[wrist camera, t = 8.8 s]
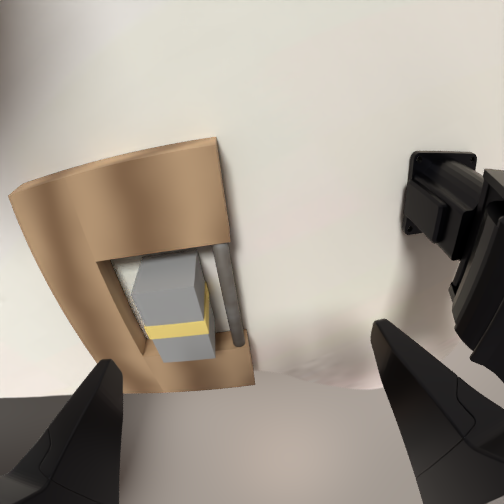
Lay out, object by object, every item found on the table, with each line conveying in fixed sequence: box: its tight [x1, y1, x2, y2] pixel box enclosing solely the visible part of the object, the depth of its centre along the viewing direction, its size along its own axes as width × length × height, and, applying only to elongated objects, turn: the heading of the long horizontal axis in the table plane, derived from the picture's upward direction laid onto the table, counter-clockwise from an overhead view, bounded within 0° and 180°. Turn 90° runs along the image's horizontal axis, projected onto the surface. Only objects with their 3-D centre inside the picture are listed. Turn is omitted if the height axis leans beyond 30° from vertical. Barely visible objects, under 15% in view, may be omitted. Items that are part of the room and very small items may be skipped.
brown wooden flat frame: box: [8, 137, 255, 393], centre depth 22 cm, size 14×22×2 cm, turn 6°
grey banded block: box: [131, 249, 216, 363], centre depth 21 cm, size 4×7×4 cm, turn 6°
